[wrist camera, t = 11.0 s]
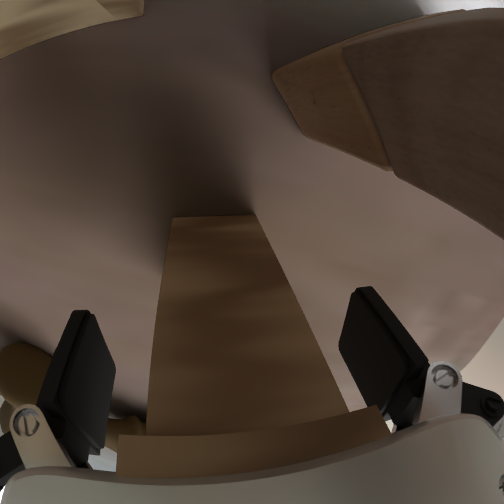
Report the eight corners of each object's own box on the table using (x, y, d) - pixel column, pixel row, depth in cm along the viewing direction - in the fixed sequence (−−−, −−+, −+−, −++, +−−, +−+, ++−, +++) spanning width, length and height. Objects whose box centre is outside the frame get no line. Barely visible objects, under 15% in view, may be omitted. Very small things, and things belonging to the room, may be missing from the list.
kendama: (160, 440, 25) (-19, 372, 17) (200, 397, 22) (-26, 304, 14) (163, 490, 20) (-37, 419, 12) (208, 460, 17) (-60, 359, 9)
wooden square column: (263, 206, 14) (396, 444, 4) (259, 288, 17) (331, 504, 6) (164, 210, 14) (115, 483, 3) (173, 293, 16) (171, 524, 5)
